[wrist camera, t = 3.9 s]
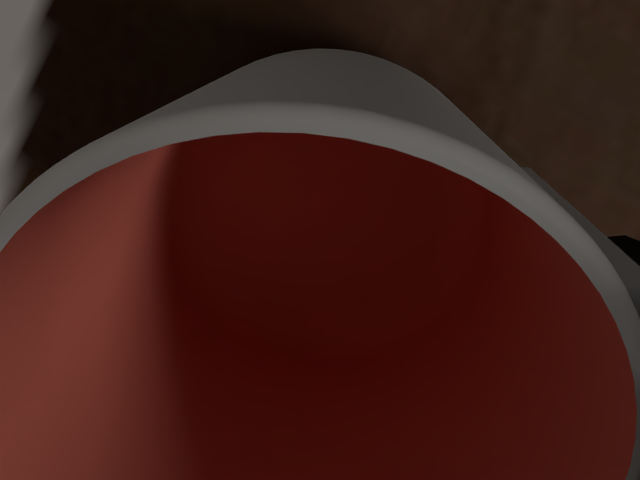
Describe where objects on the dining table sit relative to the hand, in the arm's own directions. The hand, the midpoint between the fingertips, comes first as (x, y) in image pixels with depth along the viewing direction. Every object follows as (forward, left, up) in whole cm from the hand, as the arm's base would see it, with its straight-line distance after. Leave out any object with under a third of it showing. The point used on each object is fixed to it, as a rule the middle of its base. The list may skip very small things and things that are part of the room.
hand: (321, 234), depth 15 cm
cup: (0, 0, -2) cm, 2 cm away
